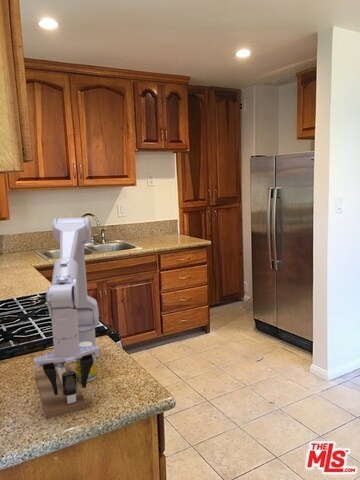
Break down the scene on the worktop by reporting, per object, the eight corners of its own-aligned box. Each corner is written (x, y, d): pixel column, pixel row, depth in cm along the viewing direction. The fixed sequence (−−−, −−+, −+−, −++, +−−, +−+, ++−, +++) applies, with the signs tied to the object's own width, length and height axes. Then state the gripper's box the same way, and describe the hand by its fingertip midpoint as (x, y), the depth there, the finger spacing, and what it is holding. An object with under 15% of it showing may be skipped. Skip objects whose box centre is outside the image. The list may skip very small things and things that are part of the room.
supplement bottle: (100, 373, 109) (98, 340, 108) (92, 383, 104) (90, 348, 102) (81, 372, 110) (79, 339, 109) (73, 381, 105) (71, 347, 103)
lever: (51, 368, 109) (49, 346, 108) (64, 365, 110) (63, 343, 109) (64, 405, 91) (62, 378, 90) (79, 401, 92) (77, 375, 91)
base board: (35, 376, 108) (35, 371, 108) (68, 369, 112) (68, 364, 112) (45, 418, 89) (45, 412, 88) (85, 407, 92) (85, 401, 92)
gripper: (34, 347, 84) (39, 406, 86) (101, 334, 90) (104, 389, 92) (31, 336, 90) (36, 391, 92) (93, 324, 96) (97, 376, 98)
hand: (69, 389), depth 92 cm, fingers open, 6 cm apart
